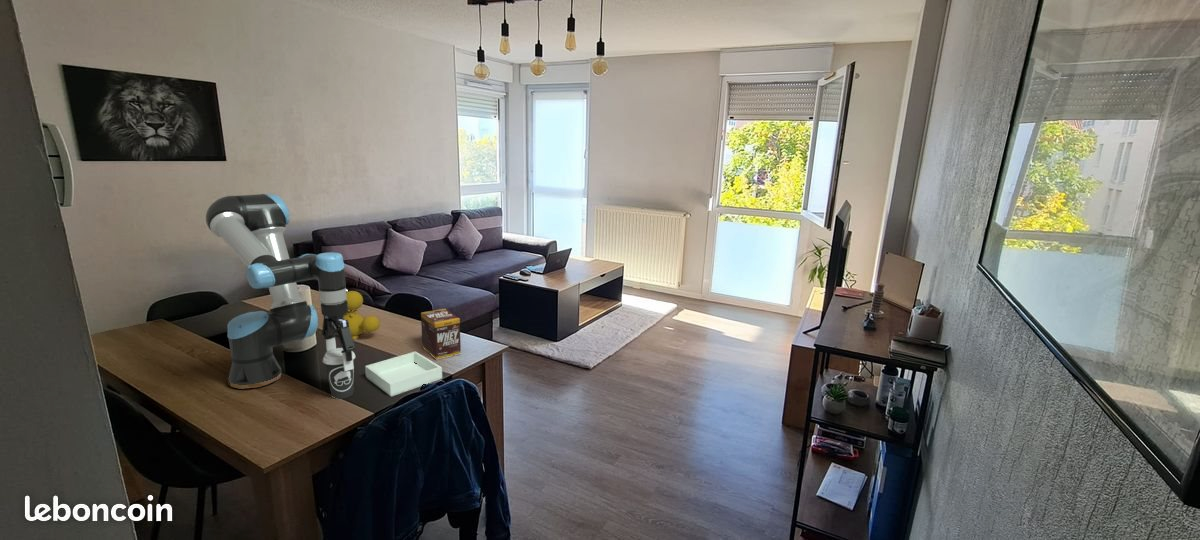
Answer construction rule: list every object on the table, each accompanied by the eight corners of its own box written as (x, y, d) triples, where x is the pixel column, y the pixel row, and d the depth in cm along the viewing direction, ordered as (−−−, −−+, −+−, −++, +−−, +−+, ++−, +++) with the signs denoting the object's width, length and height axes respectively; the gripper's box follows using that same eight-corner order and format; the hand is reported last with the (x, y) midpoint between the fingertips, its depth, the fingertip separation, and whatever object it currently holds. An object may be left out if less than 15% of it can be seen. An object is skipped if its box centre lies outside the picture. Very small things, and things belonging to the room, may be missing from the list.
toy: (322, 333, 211) (317, 289, 206) (343, 326, 220) (339, 283, 215) (363, 346, 200) (360, 300, 195) (384, 338, 209) (381, 294, 204)
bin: (390, 396, 162) (390, 384, 161) (366, 377, 174) (365, 366, 173) (442, 378, 176) (441, 367, 175) (415, 362, 188) (415, 351, 187)
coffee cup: (364, 388, 167) (361, 348, 163) (347, 402, 157) (343, 359, 154) (338, 386, 167) (334, 345, 164) (319, 399, 158) (315, 357, 154)
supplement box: (436, 361, 190) (434, 323, 186) (422, 347, 201) (420, 312, 197) (461, 354, 196) (460, 318, 193) (446, 342, 208) (445, 307, 204)
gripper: (363, 308, 149) (368, 371, 154) (331, 291, 165) (337, 349, 170) (337, 313, 144) (343, 379, 149) (306, 295, 160) (313, 355, 165)
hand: (340, 363), depth 159 cm, fingers open, 13 cm apart
